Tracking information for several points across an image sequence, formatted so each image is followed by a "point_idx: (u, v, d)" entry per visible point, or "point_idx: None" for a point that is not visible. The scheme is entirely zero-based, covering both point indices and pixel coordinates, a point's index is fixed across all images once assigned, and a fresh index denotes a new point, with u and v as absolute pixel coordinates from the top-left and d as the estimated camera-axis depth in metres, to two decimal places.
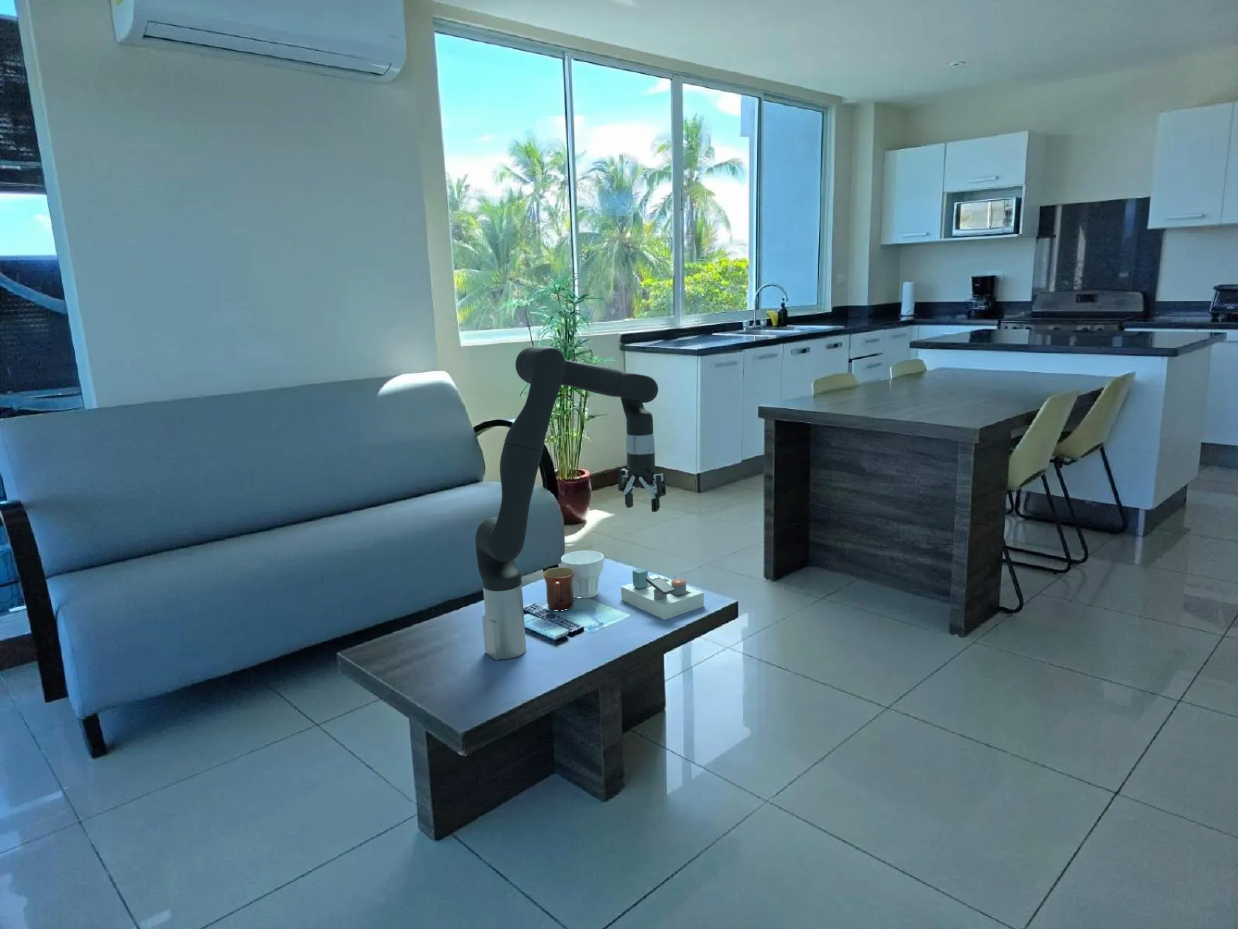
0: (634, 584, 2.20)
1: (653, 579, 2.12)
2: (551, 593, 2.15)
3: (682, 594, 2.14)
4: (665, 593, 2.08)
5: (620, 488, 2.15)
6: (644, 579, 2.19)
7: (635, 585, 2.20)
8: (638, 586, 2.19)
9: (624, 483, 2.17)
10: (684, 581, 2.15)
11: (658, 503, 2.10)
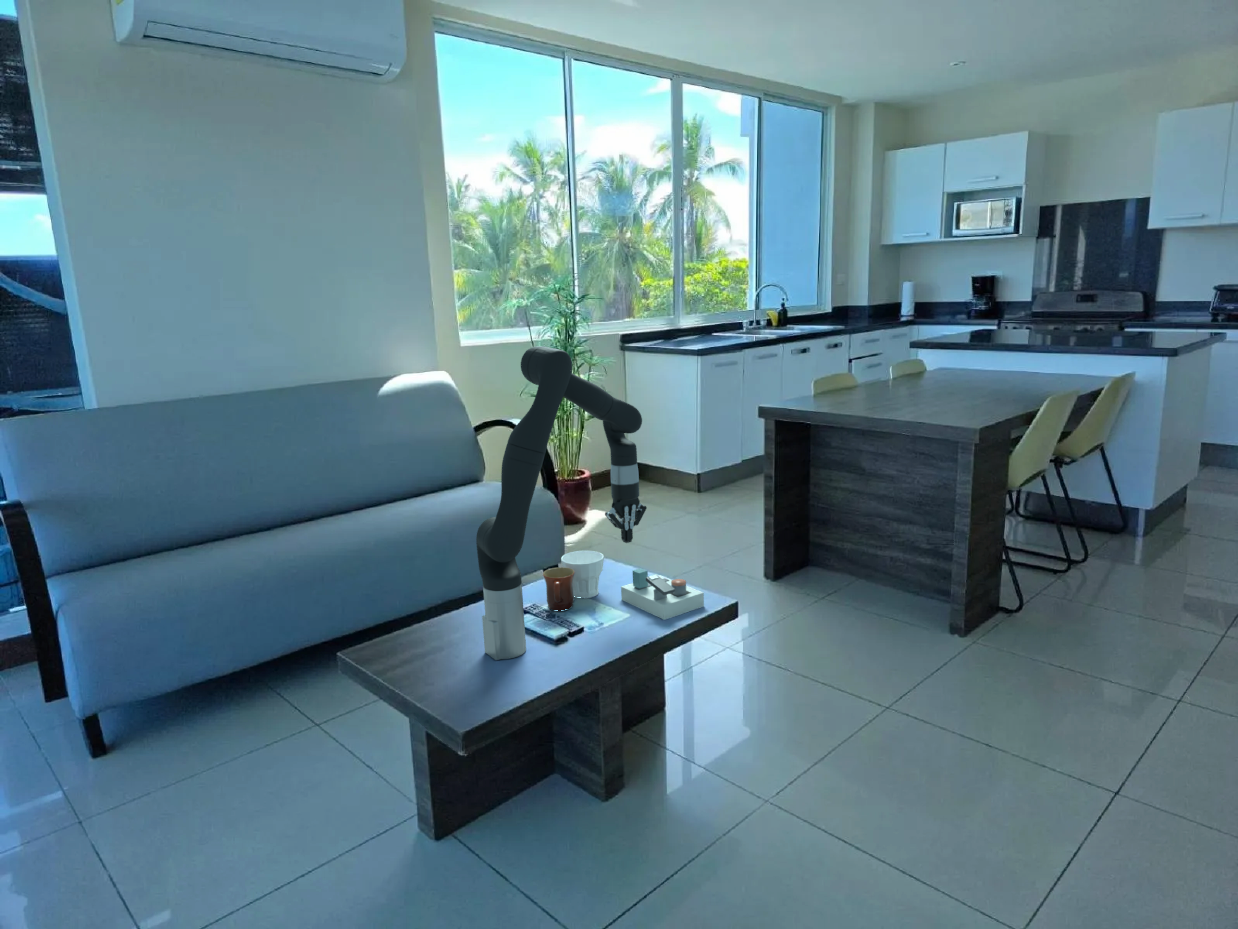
0: (634, 584, 2.20)
1: (653, 579, 2.12)
2: (551, 593, 2.15)
3: (682, 594, 2.14)
4: (665, 593, 2.08)
5: (622, 526, 2.12)
6: (644, 579, 2.19)
7: (635, 585, 2.20)
8: (638, 586, 2.19)
9: None
10: (684, 581, 2.15)
11: None
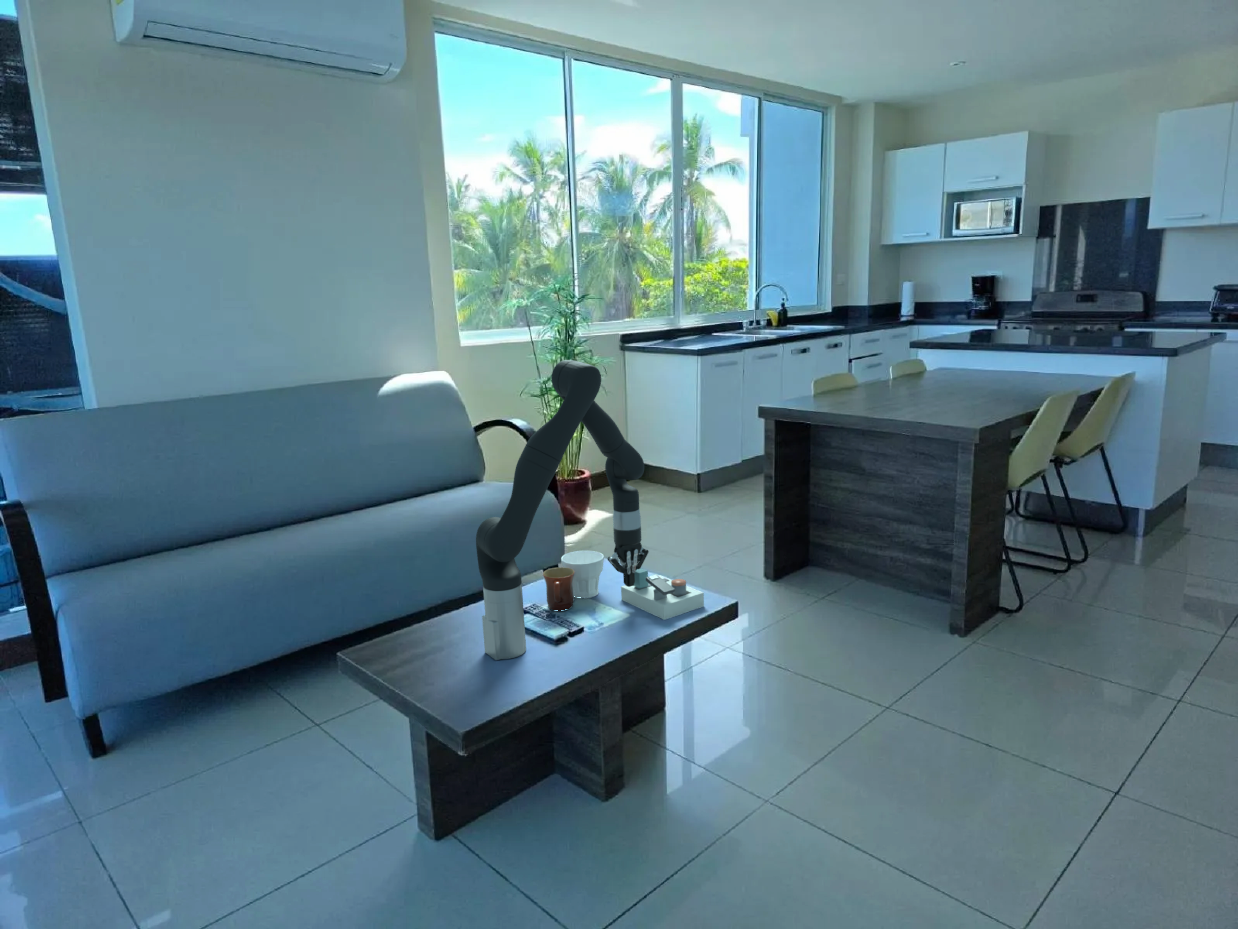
0: (634, 584, 2.20)
1: (653, 579, 2.12)
2: (551, 593, 2.15)
3: (682, 594, 2.14)
4: (665, 593, 2.08)
5: (624, 570, 2.15)
6: (644, 579, 2.19)
7: (635, 585, 2.20)
8: (638, 586, 2.19)
9: None
10: (684, 581, 2.15)
11: None
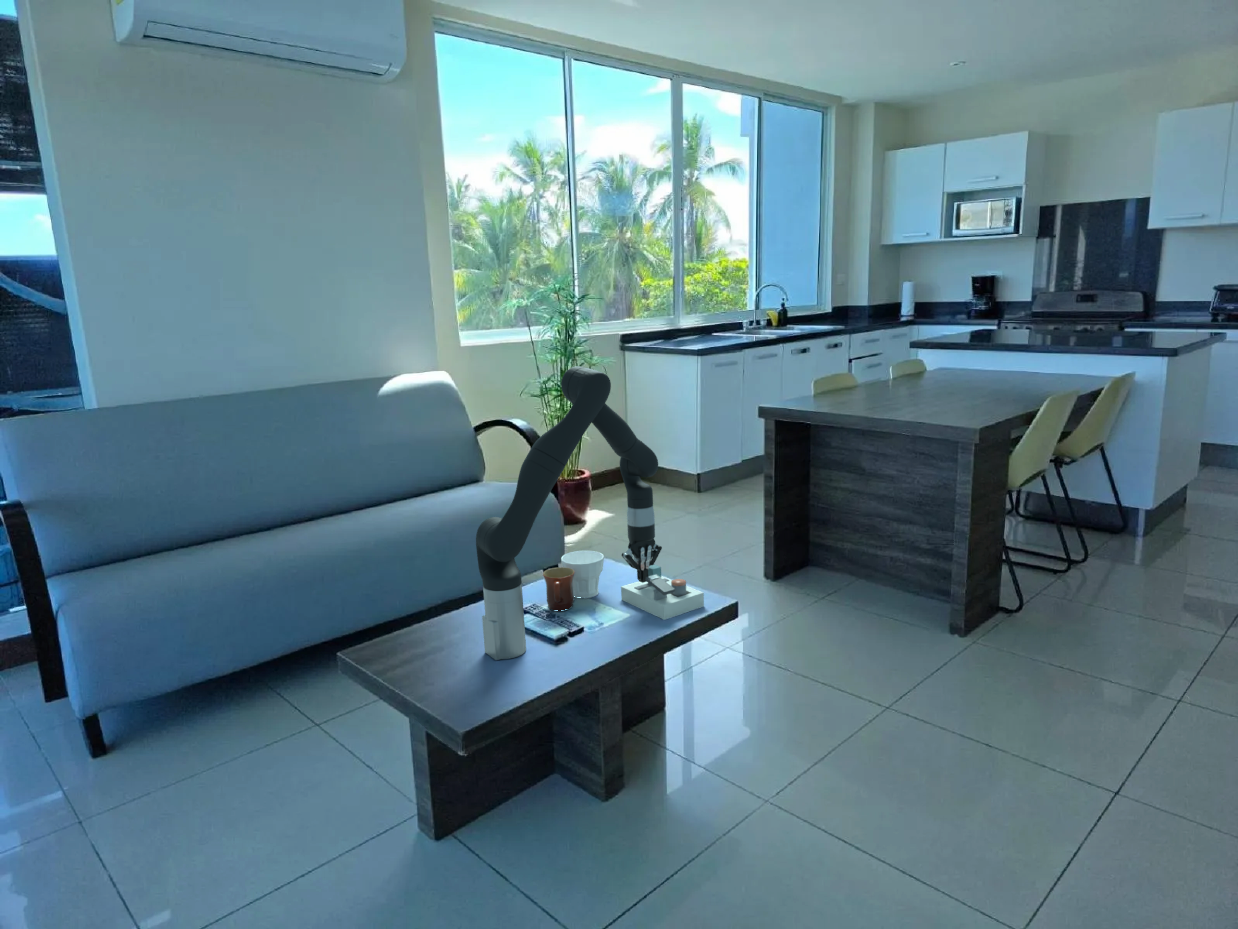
0: None
1: (653, 579, 2.12)
2: (551, 593, 2.15)
3: (682, 594, 2.14)
4: (665, 593, 2.08)
5: (638, 566, 2.17)
6: (658, 575, 2.22)
7: None
8: None
9: None
10: (684, 581, 2.15)
11: None
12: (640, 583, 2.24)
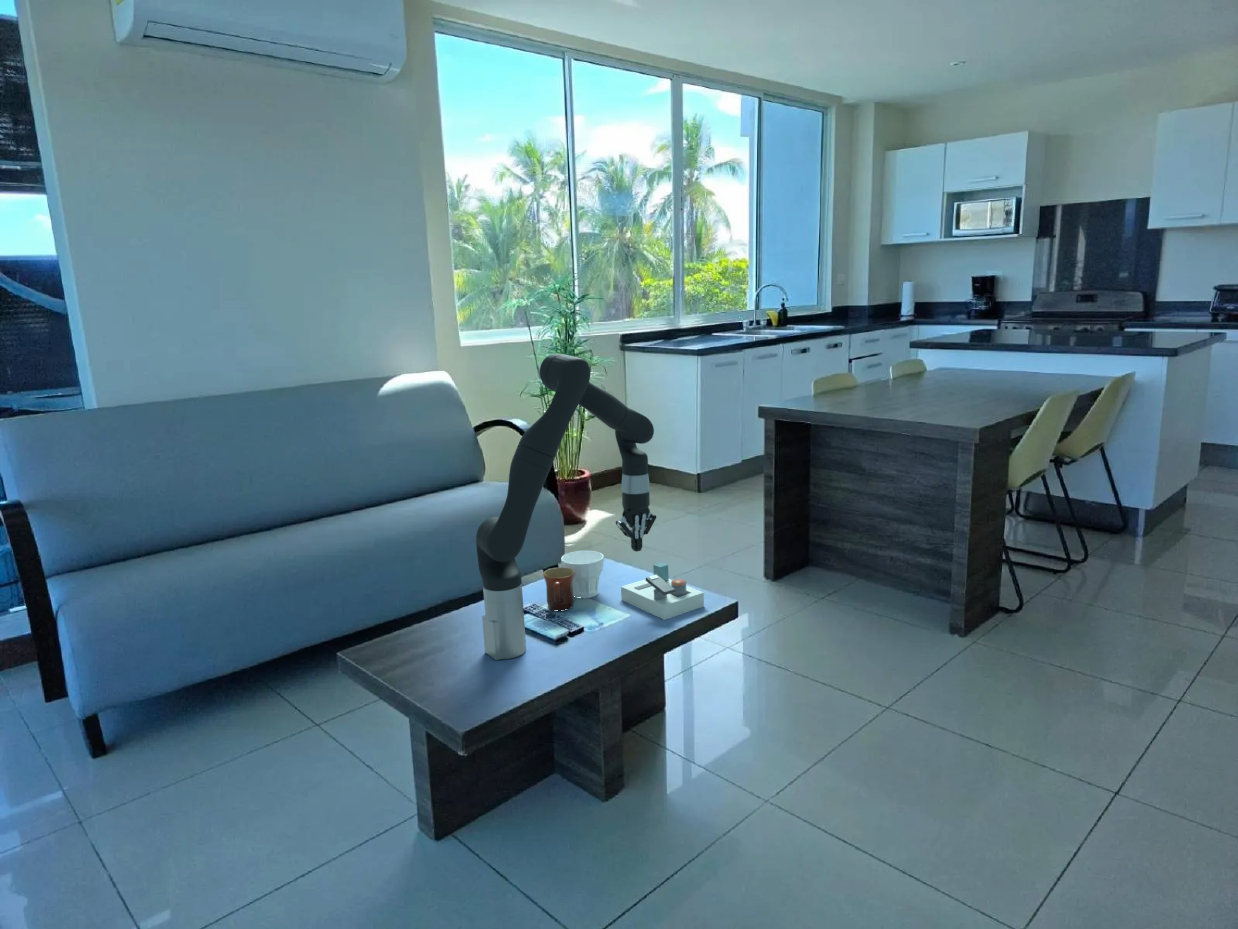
0: None
1: (653, 579, 2.12)
2: (551, 593, 2.15)
3: (682, 594, 2.14)
4: (665, 593, 2.08)
5: (632, 534, 2.15)
6: (665, 573, 2.23)
7: None
8: None
9: None
10: (684, 581, 2.15)
11: None
12: (640, 583, 2.24)
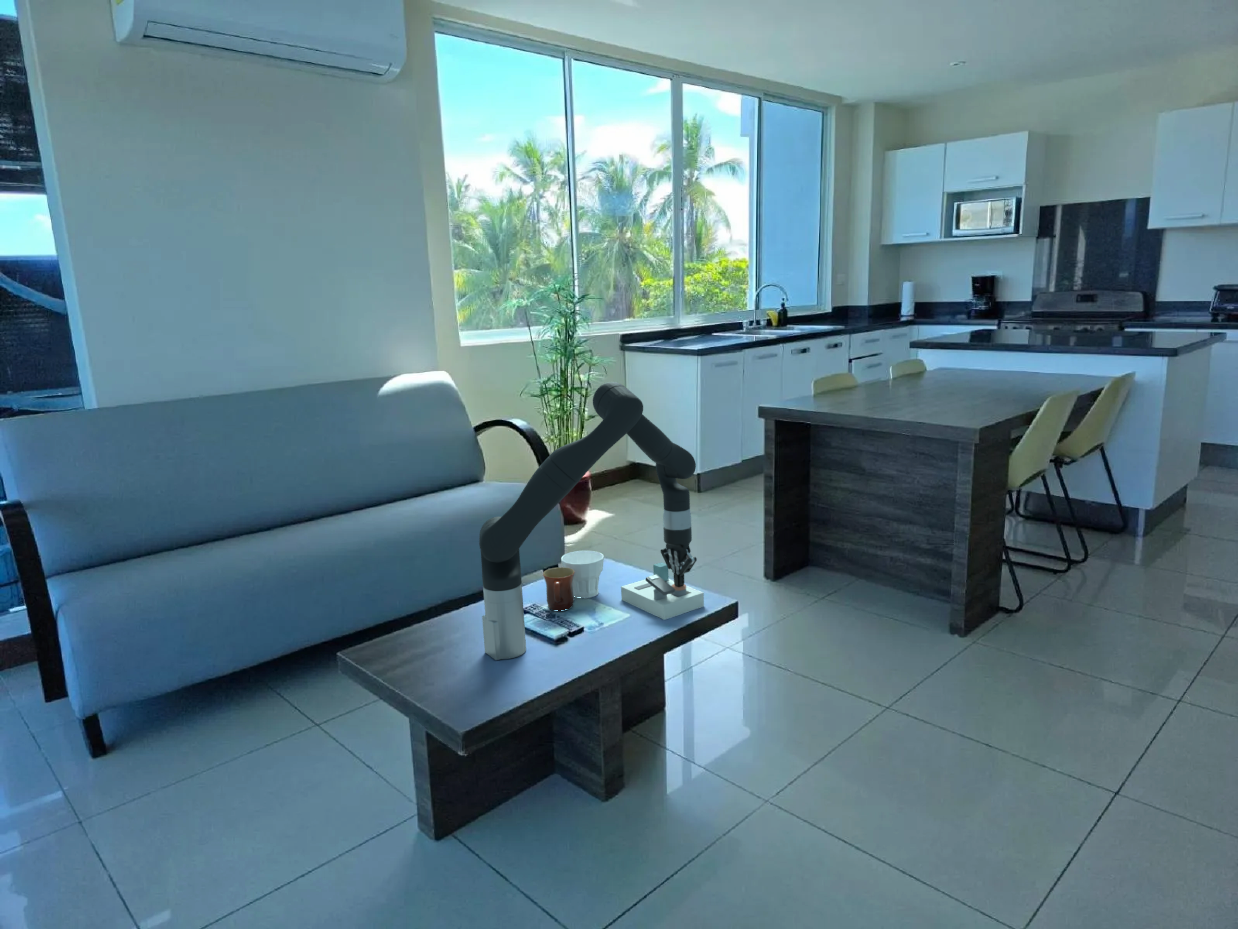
0: None
1: (653, 579, 2.12)
2: (551, 593, 2.15)
3: None
4: (665, 593, 2.08)
5: None
6: (665, 573, 2.23)
7: None
8: None
9: None
10: (684, 585, 2.15)
11: None
12: (640, 583, 2.24)
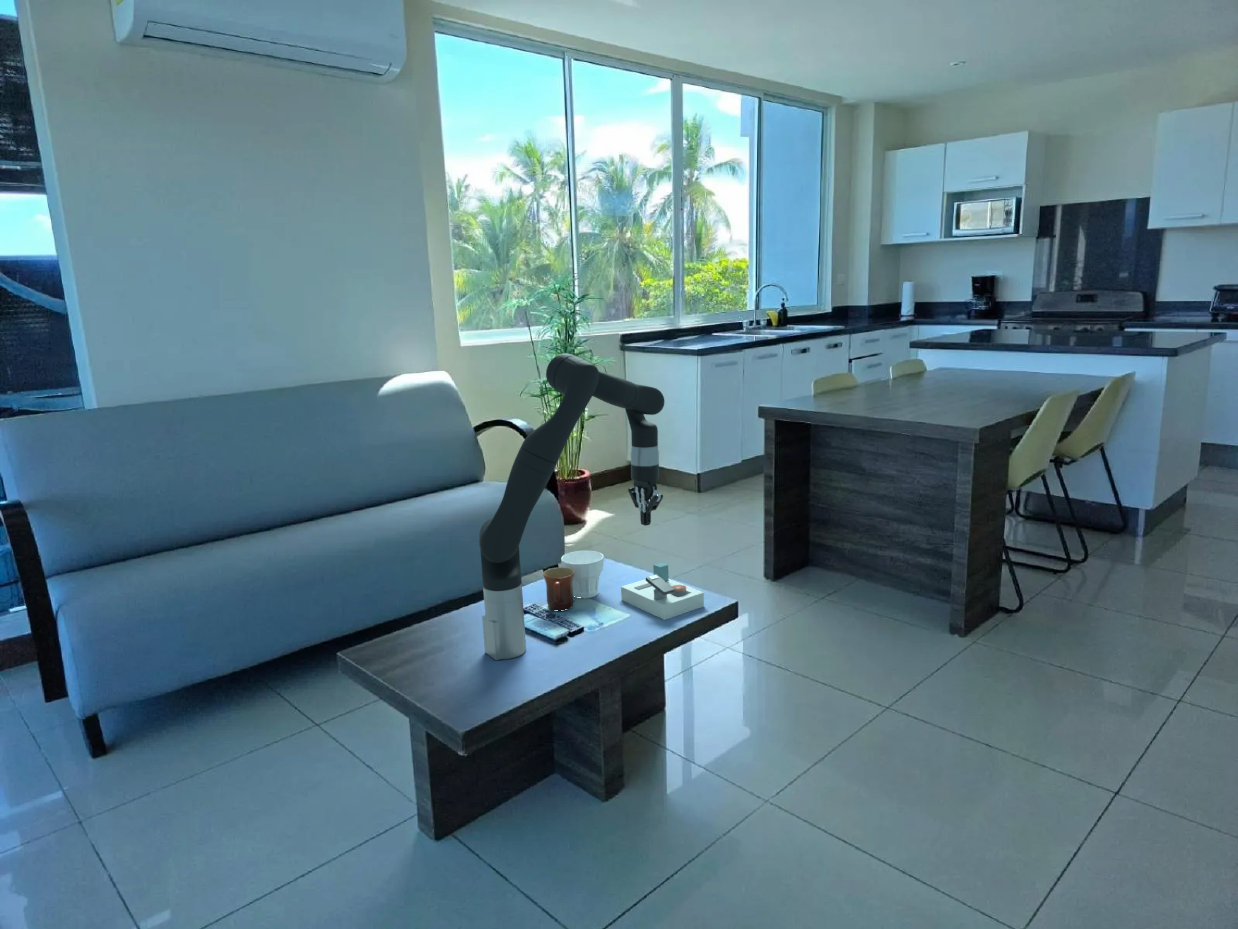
0: None
1: (653, 579, 2.12)
2: (551, 593, 2.15)
3: None
4: (665, 593, 2.08)
5: None
6: (665, 573, 2.23)
7: None
8: None
9: None
10: (684, 587, 2.15)
11: None
12: (640, 583, 2.24)
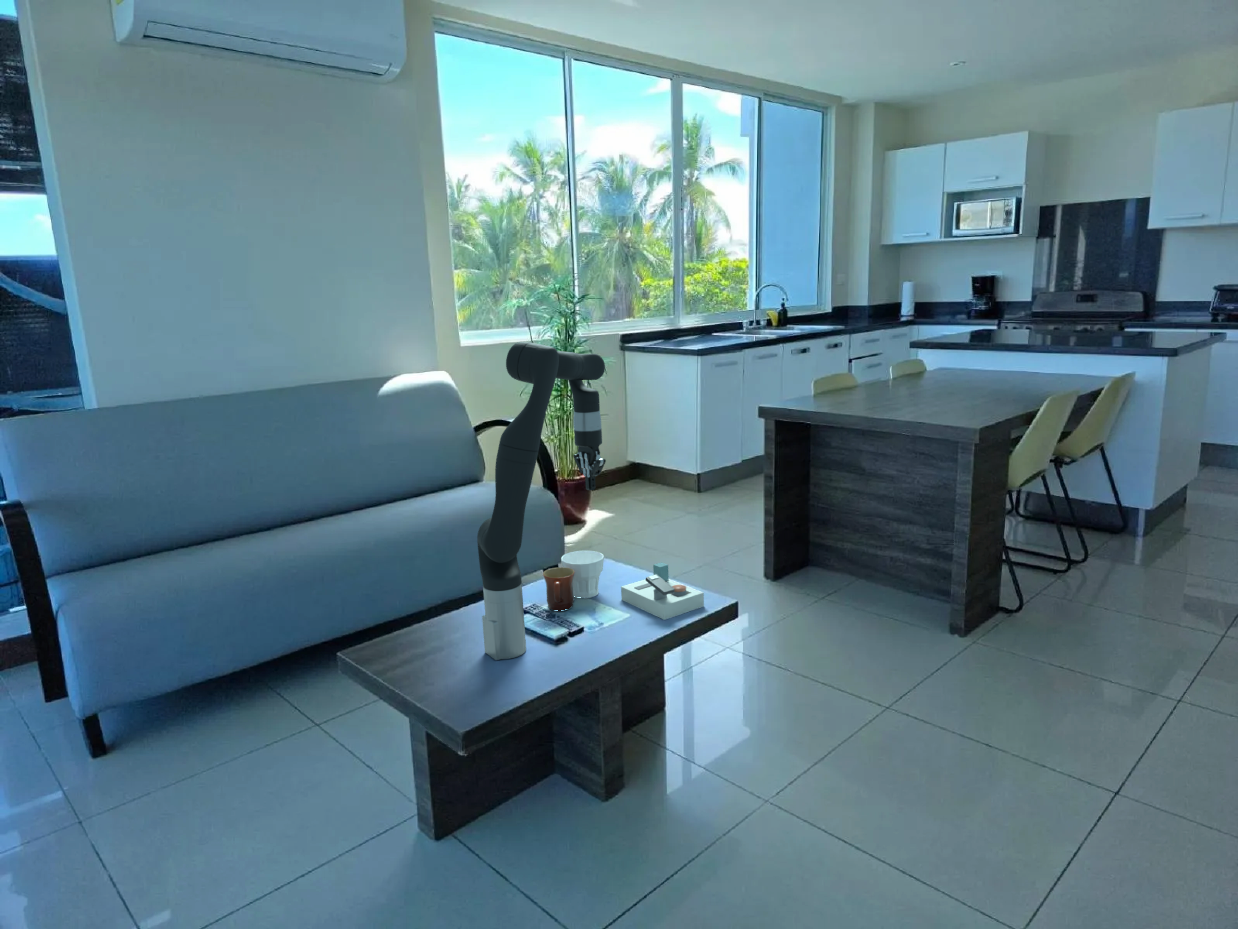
0: None
1: (653, 579, 2.12)
2: (551, 593, 2.15)
3: None
4: (665, 593, 2.08)
5: None
6: (665, 573, 2.23)
7: None
8: None
9: None
10: (684, 587, 2.15)
11: None
12: (640, 583, 2.24)
